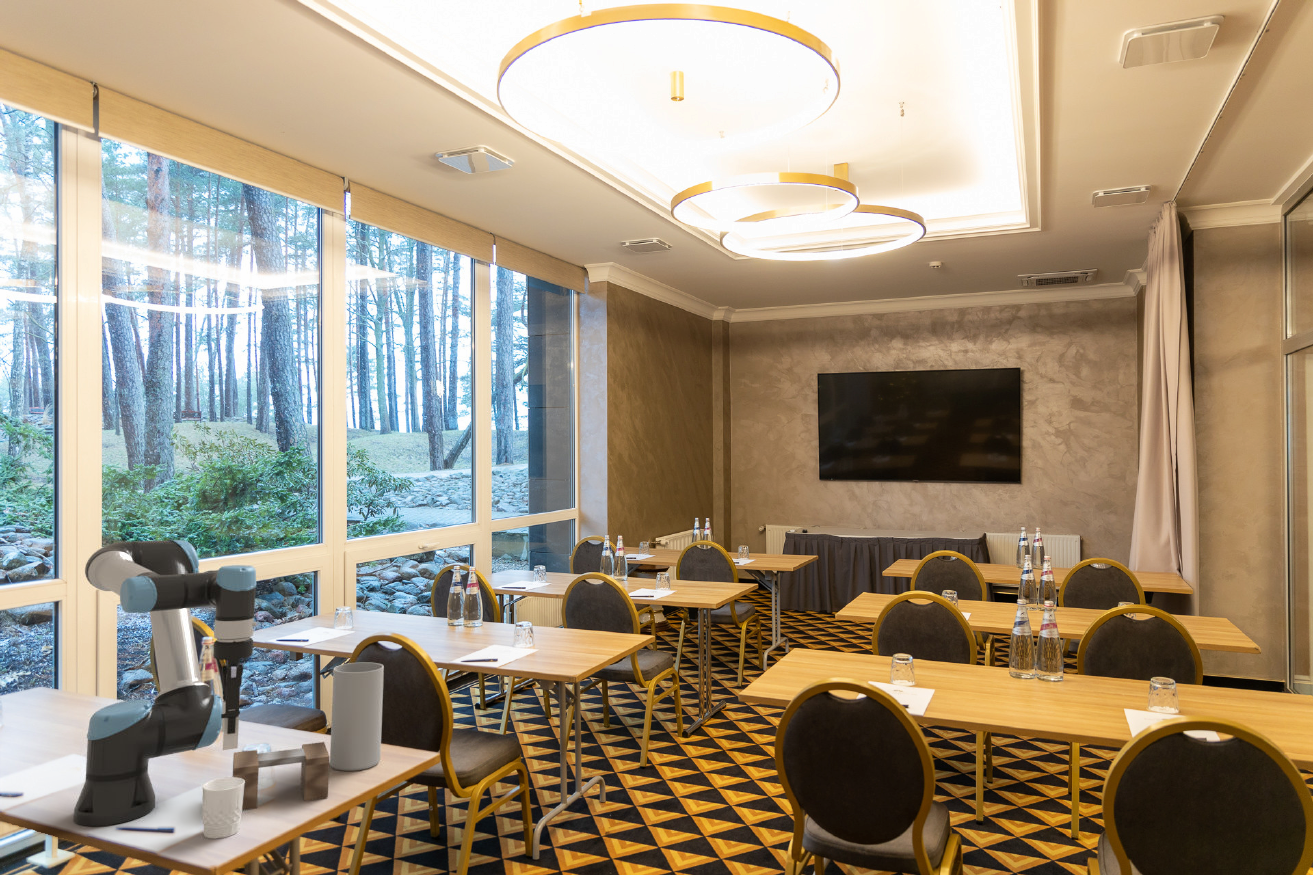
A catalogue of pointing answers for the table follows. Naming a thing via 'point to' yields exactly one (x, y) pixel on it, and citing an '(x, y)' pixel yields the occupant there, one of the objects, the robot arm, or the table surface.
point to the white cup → (222, 806)
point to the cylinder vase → (356, 716)
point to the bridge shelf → (307, 773)
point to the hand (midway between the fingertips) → (229, 739)
